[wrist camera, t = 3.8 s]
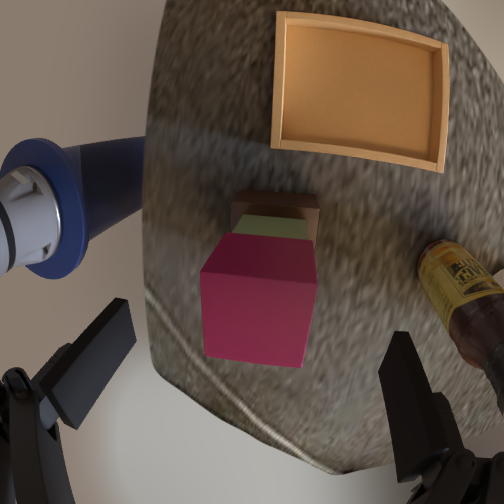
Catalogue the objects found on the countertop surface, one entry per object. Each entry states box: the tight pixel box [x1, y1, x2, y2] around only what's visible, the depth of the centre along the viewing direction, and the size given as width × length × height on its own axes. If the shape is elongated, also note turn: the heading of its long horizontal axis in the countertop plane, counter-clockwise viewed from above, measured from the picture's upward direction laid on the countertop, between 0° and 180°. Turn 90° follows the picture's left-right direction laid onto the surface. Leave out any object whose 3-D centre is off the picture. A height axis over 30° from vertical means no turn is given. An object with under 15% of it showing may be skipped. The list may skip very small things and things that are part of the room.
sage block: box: [232, 214, 308, 240], centre depth 22 cm, size 5×5×5 cm
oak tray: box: [270, 11, 449, 173], centre depth 21 cm, size 16×13×3 cm
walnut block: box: [230, 189, 320, 254], centre depth 26 cm, size 7×7×5 cm
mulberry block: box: [200, 232, 318, 368], centre depth 17 cm, size 6×6×6 cm
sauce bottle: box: [417, 239, 504, 417], centre depth 18 cm, size 6×6×20 cm
